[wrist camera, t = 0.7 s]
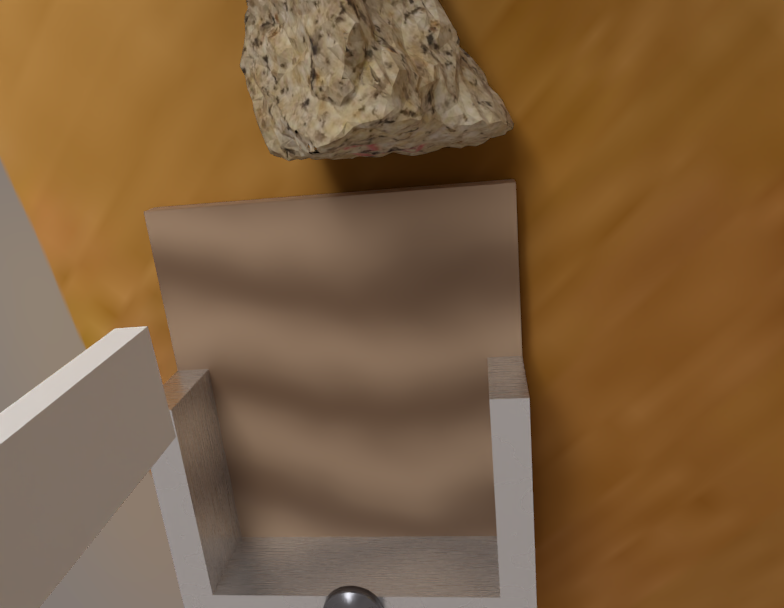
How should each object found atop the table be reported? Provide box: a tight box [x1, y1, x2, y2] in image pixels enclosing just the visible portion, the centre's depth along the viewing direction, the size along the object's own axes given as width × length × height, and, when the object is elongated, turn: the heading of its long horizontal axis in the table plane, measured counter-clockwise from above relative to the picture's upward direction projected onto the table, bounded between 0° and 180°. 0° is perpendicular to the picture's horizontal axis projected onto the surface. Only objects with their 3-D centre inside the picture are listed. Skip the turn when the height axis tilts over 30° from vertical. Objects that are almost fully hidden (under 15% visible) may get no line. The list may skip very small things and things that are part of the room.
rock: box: [240, 0, 514, 161], centre depth 28 cm, size 11×12×10 cm
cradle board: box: [144, 179, 522, 537], centre depth 37 cm, size 22×19×1 cm
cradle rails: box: [151, 356, 537, 608], centre depth 35 cm, size 14×19×5 cm
